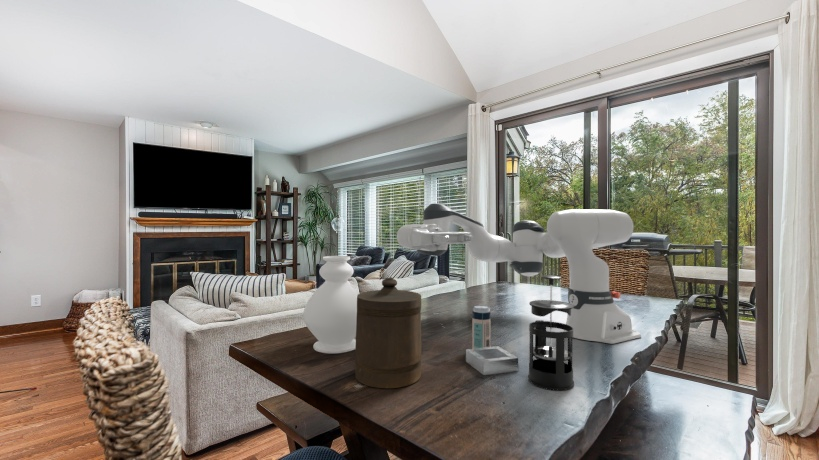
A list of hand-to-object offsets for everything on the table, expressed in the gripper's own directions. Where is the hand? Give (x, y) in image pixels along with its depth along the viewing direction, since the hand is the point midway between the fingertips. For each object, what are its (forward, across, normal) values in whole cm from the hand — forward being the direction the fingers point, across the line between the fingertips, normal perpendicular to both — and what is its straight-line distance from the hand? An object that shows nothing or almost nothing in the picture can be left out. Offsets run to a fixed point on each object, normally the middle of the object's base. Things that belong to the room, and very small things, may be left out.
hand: (459, 238), depth 110 cm
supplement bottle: (+11, +2, -30) cm, 32 cm away
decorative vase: (-16, +32, -30) cm, 47 cm away
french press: (+33, +4, -30) cm, 45 cm away
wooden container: (+10, +31, -30) cm, 44 cm away
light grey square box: (+20, +8, -30) cm, 37 cm away
